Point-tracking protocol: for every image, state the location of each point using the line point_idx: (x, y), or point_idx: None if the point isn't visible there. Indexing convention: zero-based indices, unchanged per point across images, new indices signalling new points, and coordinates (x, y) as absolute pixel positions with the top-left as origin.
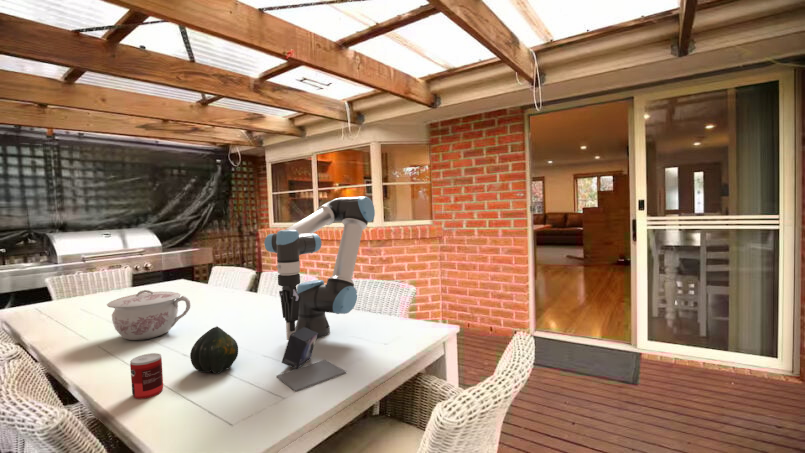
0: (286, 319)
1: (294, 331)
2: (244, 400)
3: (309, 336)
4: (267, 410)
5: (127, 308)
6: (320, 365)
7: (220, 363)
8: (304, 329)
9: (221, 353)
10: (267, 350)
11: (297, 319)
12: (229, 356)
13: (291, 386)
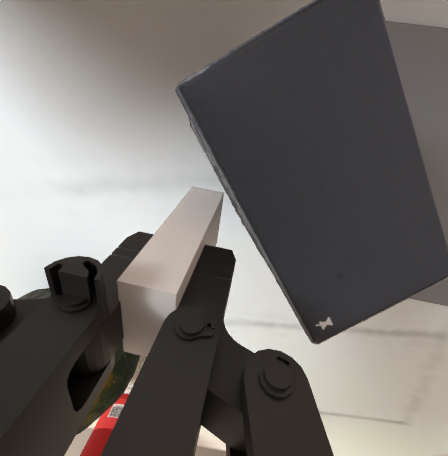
0: (110, 371)
1: (210, 228)
2: (336, 372)
3: (408, 179)
4: (442, 380)
5: None
6: (412, 106)
7: (136, 366)
8: (253, 137)
9: (116, 391)
10: (18, 149)
11: (302, 384)
12: (118, 355)
13: (421, 298)
